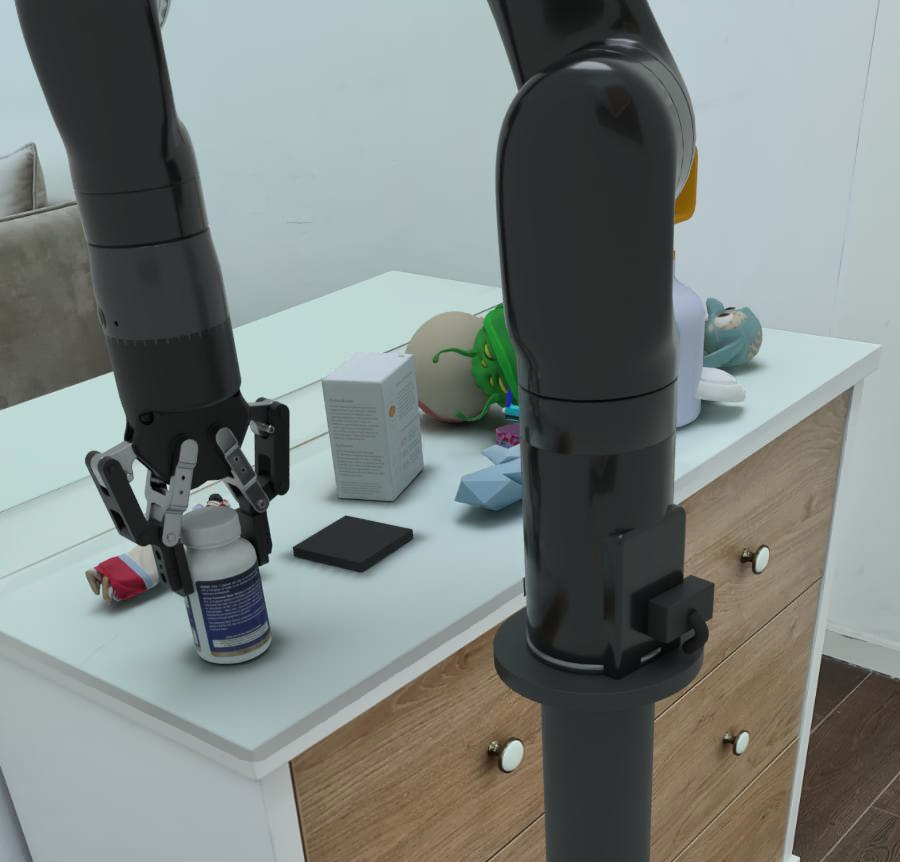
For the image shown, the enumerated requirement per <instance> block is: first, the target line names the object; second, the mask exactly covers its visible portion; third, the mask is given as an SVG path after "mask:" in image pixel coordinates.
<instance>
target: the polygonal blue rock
mask: <svg viewBox="0 0 900 862" xmlns="http://www.w3.org/2000/svg"><path fill="white" fill-rule="evenodd" d="M479 453H480V454H482V455H483V456H484V457H486V458H487V459H488V460H489V461H490V462H492V463H493V464H495V465H492V466H489V467H485V468H482V469H480V470H477V471H474V472H471V473H468V474H465V475H462V476H461V479H460V483H459V485H458V488H457V492H456V494H455V498H454V500H453V501H455V502H458V503H462V504H466V505H471V506H475V507H478V508H483V509H487V510H491V511H496V512H497V511H498V512H499V511H500V510H502V509H504V508H507V507H508V506H510V505H512V504H514V503H516V502H518V501H520V500H522V483H521V458H520V444H518V445H516V446H513V447H511V448H509V449H507V448H504V447H501V446H499V445H497V443H496V444H493V445H491V446H489V447H486V448H484V449H483V450H481V451H479Z"/></svg>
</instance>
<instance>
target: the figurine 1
mask: <svg viewBox="0 0 900 862" xmlns="http://www.w3.org/2000/svg"><path fill="white" fill-rule="evenodd" d="M209 506H226V507H230V508H231V503H230V500H228V499H225V498H223V497H222V496H221V494H220V493H212V494H210V495H209V497H208V500H207V501H206V505H203V504H201V503H197V504H196V505H194V507H193V508H192V510H195V509H199V508H203V507H209ZM179 542H181V543H182V540H181V537H179ZM183 545H184V544H183ZM184 547H185V545H184ZM84 574H85V578H86V580H87V583H88V585H89V587H90V589H91V591H92V592H93V594H94V595H96V596H100V593H101V594H102V599H103V600H104V602H105V603H106V604H107V605H109V606H110V605H111V604H112V598H113V599H114V600H115V601H117V602H119V603H120V602H121V601H122V600H124V601H126V600H129V599H131V598H134V597H136V596H139V595H141V594H143V593H144V592H146V591H148V590H150V589H152V588H154V587H156V586H157V585H158V584H159V583H161V581H160V579H159V575H158V571H157V566H156V563H155V559H154V555H153V551H152V547H151V545H147V546H145V547H142V546H139V545H136V546H135V547H133V548H132V549H130V550H129V552H126V553H121V554H119V555H115V556H111V557H110V558H108V559H105V560H104V561H101V562H100V563H98V565H96V566H93V568H90V569H88V570H86V571H85V572H84Z"/></svg>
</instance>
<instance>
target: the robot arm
mask: <svg viewBox="0 0 900 862" xmlns="http://www.w3.org/2000/svg"><path fill="white" fill-rule="evenodd" d="M13 2H14V6H15V10H16V14H17V19H18V23H19V26H20V30H21V33H22V38H23V40H24V43H25V46H26V47H25V48H26V50H27V54H28V56H29V59H30V61H31V64H32V67H33V70H34V72H35V75H36V77H37V81H38V83H39V85H40V88H41V91H42V94H43V96H44V99H45V103H46V104H47V107H48V110H49V112H50V115H51V118H52V120H53V122H54V125H55V127H56V130H57V132H58V134H59V136H60V139H61V141H62V144H63V147H64V149H65V150H64V151H65V153H66V157H67V161H68V168H69V173H70V179H71V184H72V188H73V189H72V190H73V193H74V197H75V201H76V205H77V210H78V213H79V219H80V222H81V226H82V231H83V235H84V238H85V241H86V246H87V252H88V259H89V268H90V278H91V285H92V289H93V290H92V291H93V294H94V298H95V299H94V300H95V302H96V314H97V319H98V322H99V324H100V325H101V326H102V331H103V336H104V340H105V344H106V348H107V352H108V356H109V360H110V364H111V368H112V373H113V377H114V381H115V385H116V389H117V394H118V398H119V400H120V404H121V407H122V409H123V412H124V415H125V428H124V433H123V441H122V442H120V443H118V444H116V445H115V446H112V447H111V448H109V449H107V450H105V451H104V452H100V451H98V450H91V451H89V452H87V454H86V455H85V457H84V464H85V467H86V469H87V471H88V473H89V475H90V476H91V479H92V481H93V483H94V485H95V487H96V489H97V492H98V493H99V496H100V499H101V500H102V502H103V504H104V506H105V508H106V511H107V512H108V515H109V517H110V518H111V520H112V524H113V525H114V527H115V529H116V531H117V533H118V535H120V536H121V537H122V538H125V539H126V540H128V541H130V542H131V543H134V544H136V546H138V545H139V546H142V547H145V546H147V545H151V547H152V551H153V555H154V559H155V563H156V566H157V571H158V575H159V579H160V583H161V584H162V585H163V586H164V587H166V588H167V589H169V590H171V591H172V592H173V593H175V594H177V595H178V596H180V597H182V598H184V597H185V596H188V595H190V594H193V592H194V589H193V585H192V580H191V576H190V571H189V567H188V563H187V558H186V554H185V549H184V545H183V543H181V542H179V537H180V530H181V523H182V516H183V515H184V512H186V511H187V510H188V508H189V502H190V496H191V495H190V494H191V491H192V490H196V489H198V488H199V487H201V486H202V485H204V484H205V483H207V482H209V481H222V482H223V483H224V484H225V486H226V488H227V489H228V492H230V494H231V496H232V498H233V499H234V500H235V501H236V503H238V506H239V507H237V508H234V509H235V510H236V512H237V514H238V518H239V522H240V526H241V535H240V536H239V537H242V538H244V539H246V540H248V541H249V542H250V543H251V544H252V545H253V547H254V549H255V552H256V556H257V561H258V566H259V568H260V567H263V566H265V565H267V564H269V562H270V556H269V554H270V555H271V554H272V553H273V552H272V551H273V540H272V534H271V528H270V522H269V517H268V509H269V506H270V503H271V502H272V500H274V499H275V498H276V497H277V496H284V495H286V494H288V492H289V490H290V487H291V486H290V485H291V484H290V483H291V480H290V479H291V477H290V476H291V475H290V472H291V471H290V468H291V467H290V465H291V464H290V463H291V462H290V461H291V460H290V459H291V458H290V455H291V454H290V451H291V450H290V449H291V448H290V446H291V445H290V444H291V443H290V441H291V438H290V437H291V436H290V435H291V434H290V433H291V431H290V430H291V429H290V427H291V426H290V425H291V424H290V423H291V422H290V421H291V420H290V419H291V418H290V417H291V415H290V414H291V413H290V409H289V406H288V405H287V404H285V403H282V402H281V401H278V400H274V399H271V398H267V397H264V396H260V397H258V398H257V399H255V401H253V402H247V400H246V399H245V398H244V396H243V393H242V392H241V387H242V376H241V375H242V374H241V370H240V364H239V358H238V352H237V346H236V342H235V336H234V331H233V325H232V319H231V314H230V308H229V303H228V298H227V292H226V286H225V281H224V275H223V271H222V266H221V263H220V258H219V256H218V252H217V250H216V247H215V244H214V240H213V237H212V233H211V228H210V226H209V224H210V223H209V218H208V212H207V211H208V210H207V207H206V206H207V205H206V201H205V195H204V190H203V184H202V179H201V175H200V167H199V164H198V159H197V155H196V151H195V147H194V143H193V141H192V137H191V135H190V132H189V130H188V128H187V126H186V125H185V124H184V122H183V121H182V120H181V118H180V117H179V114H178V112H177V109H176V102H175V98H174V91H173V86H172V81H171V77H170V71H169V66H168V61H167V58H166V57H167V56H166V51H165V45H164V41H163V34H162V30H163V29H164V27H165V24H166V22H167V20H168V17H169V13H170V10H171V5H172V0H13ZM486 2H487V5H488V7H489V10H490V12H491V14H492V15H491V16H492V17H493V20H494V22H495V25H496V28H497V32H498V34H499V37H500V39H501V42H502V45H503V47H504V51H505V55H506V57H507V61H508V63H509V66H510V69H511V72H512V73H511V74H512V75H513V79H514V82H515V86H516V89H517V93H516V94H515V95H514V97H513V98H512V100H511V102H510V104H509V106H508V107H507V109H506V112H505V114H504V117H503V119H502V122H501V126H500V130H499V133H498V138H497V144H496V152H495V166H494V167H495V169H494V173H495V174H494V194H495V196H494V197H495V215H496V227H497V228H496V231H497V240H498V241H497V244H498V256H499V257H498V258H499V269H500V281H501V283H500V284H501V296H502V304H503V308H504V318H505V324H506V328H507V332H508V336H509V339H510V341H511V343H512V346H513V348H514V351H515V355H516V363H517V380H518V402H519V422H518V423H519V427H520V431H519V432H520V458H521V483H522V499H521V506H522V532H523V535H522V536H523V556H524V557H523V559H524V577H522V584H523V585H522V586H523V598H524V597H525V601H526V602H525V604H526V607H527V629H526V642H527V647H528V649H529V651H530V653H531V654H532V655H533V656H534V657H535V658H536V659H537V660H539V661H540V662H542V663H544V664H546V665H548V666H550V667H552V668H555V669H558V670H562V671H566V672H571V673H577V674H588V675H604V676H608V677H610V678H612V679H615V680H620V679H622V678H624V677H625V676H627V675H629V674H631V673H633V672H634V671H636V670H638V669H640V668H641V667H643V666H645V665H647V664H649V663H651V662H653V661H654V660H656V659H657V658H659V657H661V656H663V655H664V654H666V653H668V652H670V651H671V650H673V649H675V648H677V647H679V646H680V644H681V635H683V634H685V633H687V632H689V631H690V630H692V629H694V631H695V636H693V637H692V638H690V639H688V640H687V641H685V642H684V643H683V645H682V650H683V651H684V652H685V653H687V654H692V653H693V652H695V651H696V650H698V649H700V648H701V647H703V646H704V647H705V645H706V644H707V642H708V640H709V636H710V630H709V627H708V624H707V622H708V621H710V620H712V619H713V617H714V599H715V588H716V587H715V585H716V583H715V582H712V581H710V580H706V579H704V578H701V577H698V576H697V575H696V576H695V575H693V574H690V575H688V576H685V558H686V539H687V538H686V537H687V536H686V535H687V513H688V512H687V509H686V507H684V506H682V505H679V504H675V503H674V499H675V474H676V473H675V471H676V449H677V428H676V425H677V404H678V379H679V357H680V330H679V326H678V324H677V322H676V320H675V316H674V307H673V252H674V251H675V250H674V248H675V245H674V244H675V224H674V216H675V200H676V198H677V197H678V195H679V194H680V192H681V190H682V189H683V187H684V185H685V183H686V181H687V179H688V176H689V173H690V170H691V166H692V163H693V159H694V154H695V145H696V144H697V128H696V127H697V126H696V114H695V110H694V105H693V101H692V98H691V96H690V95H691V94H690V91H689V89H688V87H687V84H686V82H685V80H684V78H683V75H682V73H681V71H680V69H679V67H678V65H677V62H676V60H675V58H674V56H673V53H672V52H671V50H670V47H669V46H668V45H669V44H668V43H667V41H666V39H665V37H664V34H663V32H662V30H661V28H660V26H659V24H658V23H659V22H658V21H657V19H656V17H655V15H654V13H653V9H652V8H651V6H650V4H649V1H648V0H486ZM696 146H697V145H696ZM249 428H250V431H251V432H252V433H253V438H254V439H253V440H254V441H253V443H254V448H253V449H254V468H253V466H252V465H251V463H250V462H249V460H248V459H247V457H246V455H245V453H244V452H243V450H242V446H243V443H244V440H245V438H246V436H247V432H248V429H249ZM135 460H136V461H138V462H139V463H140V464H141V465H142V466H144V467H145V468H146V469H147V470H146V479H145V486H144V499H145V500H146V508H145V509H146V510H145V514H144V512H143V509H142V508H141V506H140V503H139V501H138V499H137V497H136V495H135V492H134V489H133V487H132V486H131V484H130V483H131V482H133V481H134V478H135V477H134V471H133V464H134V462H135ZM168 486H169V488H168Z"/></svg>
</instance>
